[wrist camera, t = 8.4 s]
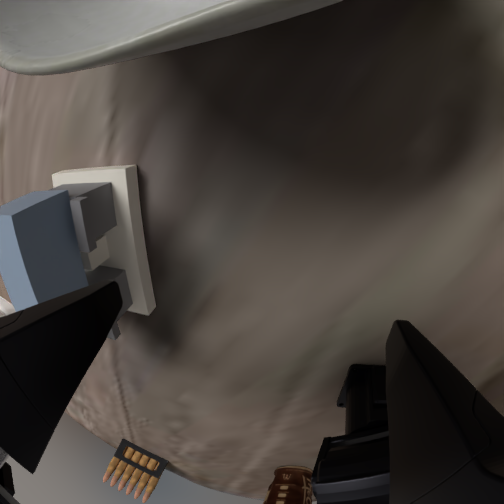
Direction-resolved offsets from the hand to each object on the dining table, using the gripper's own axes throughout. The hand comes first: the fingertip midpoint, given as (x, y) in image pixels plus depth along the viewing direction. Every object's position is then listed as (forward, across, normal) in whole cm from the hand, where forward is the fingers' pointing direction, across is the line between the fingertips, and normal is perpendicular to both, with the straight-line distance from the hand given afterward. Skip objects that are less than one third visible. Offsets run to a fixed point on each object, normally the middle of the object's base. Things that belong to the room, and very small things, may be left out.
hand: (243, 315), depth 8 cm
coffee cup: (+12, -5, +43) cm, 45 cm away
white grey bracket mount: (+12, +16, +4) cm, 20 cm away
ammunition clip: (+12, +25, +53) cm, 60 cm away
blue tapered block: (+6, +16, +4) cm, 18 cm away
